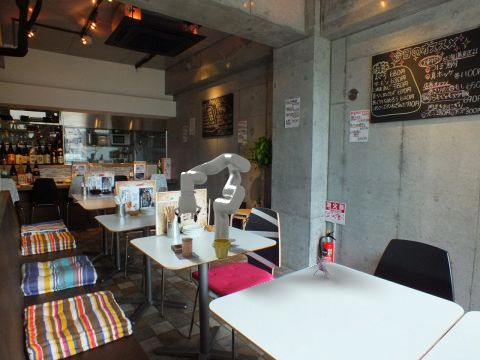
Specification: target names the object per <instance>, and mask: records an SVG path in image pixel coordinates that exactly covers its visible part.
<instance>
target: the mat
mask: <svg viewBox="0 0 480 360" xmlns="http://www.w3.org/2000/svg"><path fill="white" fill-rule="evenodd" d="M174 256H175V257H176V258H177V259H178V260H179V261H180V260H186V259H191V258H192V259H194V258H199V257H200V256H199V255H198V254H197V253H196V252H195V251H192V256H191V257H182V253H178V254H174Z"/></svg>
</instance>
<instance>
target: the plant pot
mask: <svg viewBox="0 0 480 360" xmlns="http://www.w3.org/2000/svg"><path fill="white" fill-rule="evenodd" d="M229 239H230V238H229ZM229 239H225V238H218V239H215V240H214V239H213V242H212V243H213V246H214V253H215V258H218V259H226V258H228V254H229V251H230V248H231V246H232V242H231V240H229ZM213 246H212V247H213Z"/></svg>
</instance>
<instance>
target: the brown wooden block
mask: <svg viewBox="0 0 480 360" xmlns="http://www.w3.org/2000/svg"><path fill="white" fill-rule="evenodd" d="M193 240H194V239H193V238H192V237H182V238H181V244H182V253H181V254H182V257H191V256H192V252H193Z"/></svg>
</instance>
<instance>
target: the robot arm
mask: <svg viewBox="0 0 480 360" xmlns="http://www.w3.org/2000/svg"><path fill="white" fill-rule="evenodd" d="M226 168H228V173H229V177H228V179H227V182H226V183H225V186H224V187H223V189H222V196H223V197H217V198H216V199H215V200H214V201H213V204H212V208H213V212H214V213H213V214H214V230H213V231H214V233H213V234H214V237H213V238H214V239H213V241H214V240H215V239H218V238H225V239H229V240H231V243H236V241H237V240H236V238H230V218H229V217H230V216H229V215H235V214H236V213H237V212H238V211H239V209H240V206H241V205H242V203H243V200H244V199H245V197H246V189H245V188H244V186H242V185H241V183H242V177H241V174H240V173H248V172H249V171H250V170H251V162H250V161H249V160H248V159H247V158H245V157H243V156H241V155H239V154H237V153H222V154H220V155H219V156H217V157H215V158H213V159H212V160H210V161H208V162H205V163H203V164H199V165H197V166H195V167H193V168H191V169H189V170H188V171H185V172H184V171H183V172H181V174H180V195H179V196H178V202H177V206H176V207H174V208H172V212H173V213H174V215H175V216H176V217H177V219H176V220H177V223H178V224H179V225H180V224H182V219H181V215H182V214H192V213H193V222H195V223H197V222H198V216H199V214H200V213H201V210H202V207H201V206H199V205H197V200H196V199H197V198H196V195H195V194H196V193H197V191H196V190H195V185H203V184H205V183H206V182H207V180H208V176H210V175H212V176H213V175H216V174H219V173H220V172H221V171H223V170H224V169H226ZM211 246H212V247H214V246H213V242H212V243H211Z"/></svg>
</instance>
